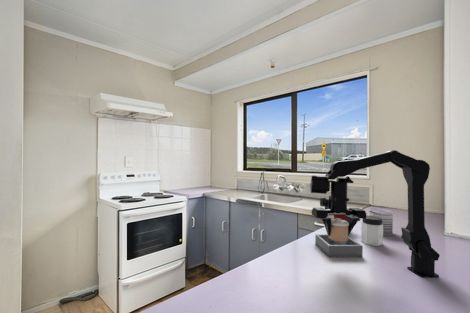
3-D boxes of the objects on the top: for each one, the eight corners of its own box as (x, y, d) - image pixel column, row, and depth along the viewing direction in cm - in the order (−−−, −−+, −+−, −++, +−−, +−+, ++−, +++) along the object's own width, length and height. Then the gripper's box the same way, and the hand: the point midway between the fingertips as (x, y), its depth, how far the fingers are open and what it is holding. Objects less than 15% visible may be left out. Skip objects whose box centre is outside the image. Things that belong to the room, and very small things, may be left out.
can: (384, 229, 135) (384, 208, 135) (398, 235, 124) (398, 212, 124) (364, 229, 134) (364, 207, 135) (377, 235, 123) (377, 212, 123)
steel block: (345, 250, 100) (346, 238, 100) (334, 250, 100) (334, 238, 100) (340, 245, 105) (340, 234, 105) (329, 245, 105) (329, 234, 105)
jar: (376, 247, 107) (376, 220, 107) (358, 241, 113) (358, 216, 113) (385, 243, 111) (386, 218, 112) (368, 238, 118) (368, 214, 118)
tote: (362, 256, 96) (362, 245, 96) (328, 256, 95) (328, 245, 95) (345, 244, 110) (345, 234, 110) (315, 244, 109) (315, 234, 109)
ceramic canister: (352, 241, 86) (352, 221, 86) (333, 241, 86) (333, 221, 86) (342, 235, 93) (343, 216, 93) (324, 235, 93) (325, 216, 93)
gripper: (351, 191, 98) (351, 229, 98) (307, 190, 97) (306, 229, 97) (367, 196, 87) (367, 238, 87) (317, 195, 86) (316, 238, 86)
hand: (338, 235), depth 89 cm, fingers closed on ceramic canister, 7 cm apart
